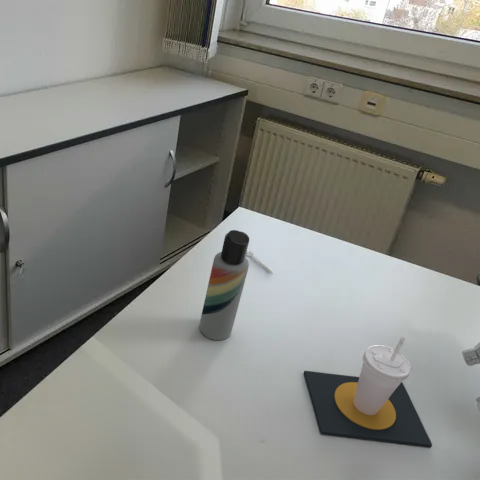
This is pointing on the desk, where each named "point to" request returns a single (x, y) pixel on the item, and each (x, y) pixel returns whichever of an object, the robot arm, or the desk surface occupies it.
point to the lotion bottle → (225, 287)
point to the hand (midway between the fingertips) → (471, 381)
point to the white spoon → (258, 261)
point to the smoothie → (380, 377)
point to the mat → (357, 423)
